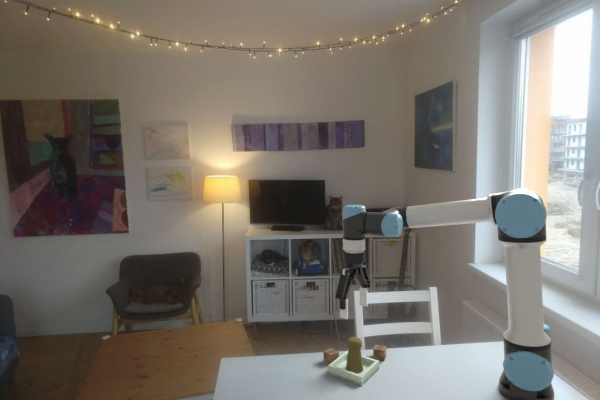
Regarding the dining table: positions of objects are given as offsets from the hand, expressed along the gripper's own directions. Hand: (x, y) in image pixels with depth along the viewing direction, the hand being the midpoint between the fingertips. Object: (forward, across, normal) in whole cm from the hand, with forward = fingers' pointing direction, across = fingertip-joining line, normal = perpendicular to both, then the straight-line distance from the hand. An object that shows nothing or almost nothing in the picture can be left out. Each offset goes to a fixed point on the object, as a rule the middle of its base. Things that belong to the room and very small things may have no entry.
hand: (354, 311), depth 138 cm
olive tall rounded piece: (+21, 0, 0) cm, 21 cm away
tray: (+22, 0, 0) cm, 22 cm away
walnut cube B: (+22, -1, -10) cm, 24 cm away
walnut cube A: (+22, -14, +3) cm, 26 cm away
